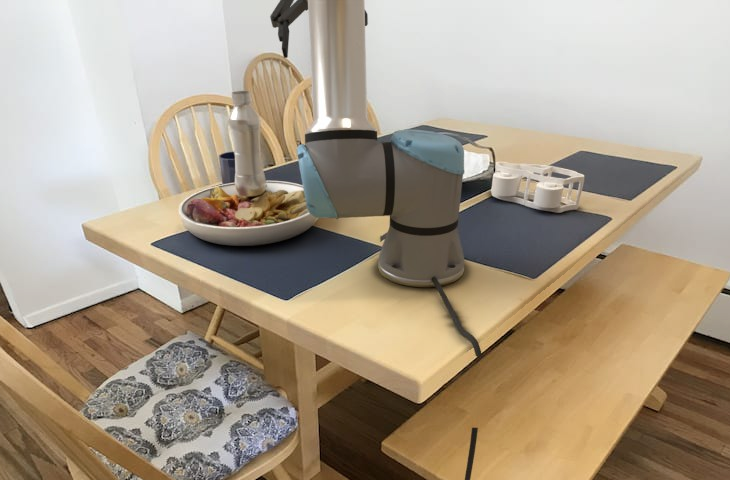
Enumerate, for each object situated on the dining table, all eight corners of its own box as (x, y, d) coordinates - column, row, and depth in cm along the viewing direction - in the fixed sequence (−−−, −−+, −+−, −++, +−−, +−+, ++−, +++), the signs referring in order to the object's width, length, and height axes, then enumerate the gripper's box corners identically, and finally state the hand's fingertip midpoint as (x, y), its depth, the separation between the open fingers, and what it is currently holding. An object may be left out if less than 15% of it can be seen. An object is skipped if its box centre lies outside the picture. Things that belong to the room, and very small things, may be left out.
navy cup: (250, 196, 134) (246, 159, 130) (220, 196, 135) (215, 159, 130) (255, 186, 141) (252, 151, 136) (227, 187, 141) (222, 151, 136)
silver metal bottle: (230, 198, 114) (217, 94, 103) (244, 188, 119) (233, 89, 108) (259, 201, 112) (248, 96, 101) (272, 190, 117) (263, 90, 107)
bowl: (258, 192, 137) (255, 160, 132) (350, 219, 120) (350, 183, 116) (154, 228, 118) (146, 192, 113) (246, 266, 101) (241, 225, 97)
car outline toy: (479, 197, 130) (483, 166, 126) (506, 187, 136) (510, 157, 132) (557, 219, 117) (564, 185, 113) (582, 206, 124) (590, 174, 120)
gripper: (380, -21, 120) (378, 64, 115) (268, -18, 122) (261, 66, 117) (380, -51, 112) (378, 38, 108) (261, -48, 114) (253, 40, 110)
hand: (317, 52), depth 113 cm, fingers open, 13 cm apart
